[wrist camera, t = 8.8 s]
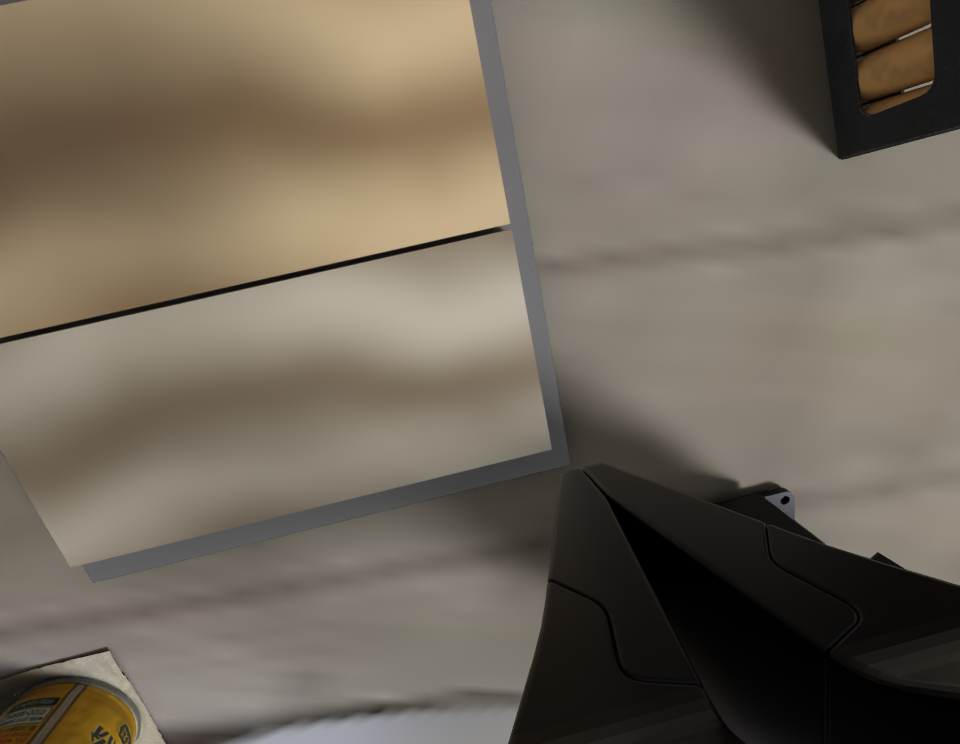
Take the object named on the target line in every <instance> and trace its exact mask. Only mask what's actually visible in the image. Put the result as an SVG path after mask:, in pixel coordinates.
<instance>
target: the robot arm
mask: <svg viewBox="0 0 960 744" xmlns="http://www.w3.org/2000/svg"><path fill="white" fill-rule="evenodd" d="M782 497H783V498H782ZM508 744H960V586H959V585H956V584H953V583H949V582H946V581H943V580H939V579H936V578H933V577H929V576H926V575H922V574H919V573H916V572H912V571H909V570H906V569H904V568H903V567H901V566H899V565H898V564H896V563H895V562H893V561H891V560H890V559H888V558H886V557H885V556H883V555H881V554H880V553H878V552H877V553H876V554H875V555H874V556H872V557H871V558H870V559H869V558H866V557H863V556H860V555H857V554H853V553H850V552H847V551H844V550H841V549H837V548H834V547H831V546H828V545H826V544H825V543H824V542H823V541H821V540H820V539H819V538H817V537H816V536H815V535H813V534H812V533H811V532H809V531H808V530H807V529H805V528H804V527H803V526H802V525H800V524H799V523H798V522H796V521H795V520H794V495H793V494H792V493H791V492H790V491H788V490H787V489H785V488H777V489H773V490H769V491H765V492H761V493H757V494H753V495H749V496H745V497H741V498H737V499H734V500H730V501H726V502H722V503H718V504H712V503H710V502H707V501H704V500H701V499H699V498H696V497H693V496H691V495H688V494H685V493H682V492H680V491H677V490H674V489H672V488H669V487H666V486H663V485H661V484H658V483H655V482H653V481H650V480H647V479H645V478H642V477H639V476H636V475H634V474H631V473H628V472H626V471H623V470H620V469H617V468H615V467H612V466H609V465H607V464H603V463H599V464H595V465H591V466H587V467H585V468H583V469H582V470H581V469H576V470H572V471H568V472H564V473H562V474H561V475H560V479H559V488H558V497H557V506H556V515H555V523H554V532H553V541H552V550H551V559H550V567H549V576H548V585H547V591H546V600H545V606H544V612H543V619H542V625H541V630H540V634H539V638H538V642H537V646H536V650H535V654H534V658H533V661H532V664H531V668H530V671H529V675H528V678H527V681H526V685H525V688H524V692H523V695H522V699H521V702H520V705H519V709H518V712H517V716H516V719H515V722H514V726H513V729H512V733H511V736H510V739H509V743H508Z"/></svg>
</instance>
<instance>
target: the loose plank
mask: <svg viewBox="0 0 960 744" xmlns="http://www.w3.org/2000/svg"><path fill="white" fill-rule="evenodd" d="M548 450H552V447H551V441H550V436H549V430H548V425H547V419H546V414H545V408H544V403H543V397H542V392H541V386H540V381H539V375H538V370H537V364H536V359H535V353H534V348H533V342H532V337H531V331H530V326H529V320H528V315H527V310H526V304H525V299H524V293H523V288H522V282H521V277H520V271H519V266H518V260H517V255H516V249H515V244H514V238H513V233H512V229H509V230H502V231H498V232H494V233H489V234H485V235H480V236H476V237H471V238H467V239H462V240H458V241H453V242H449V243H445V244H440V245H436V246H431V247H427V248H422V249H418V250H413V251H409V252H404V253H400V254H396V255H391V256H387V257H382V258H378V259H373V260H369V261H364V262H360V263H355V264H351V265H347V266H342V267H338V268H333V269H329V270H324V271H320V272H315V273H311V274H306V275H302V276H298V277H293V278H289V279H284V280H280V281H275V282H271V283H266V284H262V285H257V286H253V287H249V288H244V289H240V290H235V291H231V292H226V293H222V294H217V295H213V296H208V297H204V298H199V299H195V300H191V301H186V302H182V303H177V304H173V305H168V306H164V307H159V308H155V309H150V310H146V311H142V312H137V313H133V314H128V315H124V316H119V317H115V318H110V319H106V320H101V321H97V322H93V323H88V324H84V325H79V326H75V327H70V328H66V329H61V330H57V331H52V332H48V333H44V334H39V335H35V336H30V337H26V338H21V339H17V340H12V341H8V342H3V343H0V451H1V453H2V454H3V456H4V458H5V459H6V461H7V463H8V464H9V466H10V468H11V469H12V471H13V473H14V474H15V476H16V478H17V479H18V481H19V483H20V484H21V486H22V488H23V489H24V491H25V493H26V494H27V496H28V498H29V499H30V501H31V503H32V504H33V506H34V508H35V509H36V511H37V513H38V514H39V516H40V518H41V519H42V521H43V523H44V524H45V526H46V528H47V529H48V531H49V533H50V534H51V536H52V537H53V539H54V541H55V542H56V544H57V546H58V547H59V549H60V551H61V552H62V554H63V556H64V557H65V559H66V561H67V562H68V564H69V566H70V567H71V568H72V567H76V566H80V565H84V564H88V563H92V562H96V561H100V560H104V559H108V558H112V557H116V556H120V555H125V554H129V553H133V552H137V551H141V550H145V549H149V548H153V547H157V546H161V545H165V544H169V543H173V542H177V541H182V540H186V539H190V538H194V537H198V536H202V535H206V534H210V533H214V532H218V531H222V530H226V529H230V528H234V527H238V526H243V525H247V524H251V523H255V522H259V521H263V520H267V519H271V518H275V517H279V516H283V515H287V514H291V513H295V512H300V511H304V510H308V509H312V508H316V507H320V506H324V505H328V504H332V503H336V502H340V501H344V500H348V499H352V498H356V497H361V496H365V495H369V494H373V493H377V492H381V491H385V490H389V489H393V488H397V487H401V486H405V485H409V484H413V483H417V482H422V481H426V480H430V479H434V478H438V477H442V476H446V475H450V474H454V473H458V472H462V471H466V470H470V469H474V468H479V467H483V466H487V465H491V464H495V463H499V462H503V461H507V460H511V459H515V458H519V457H523V456H527V455H531V454H535V453H540V452H544V451H548Z"/></svg>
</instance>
